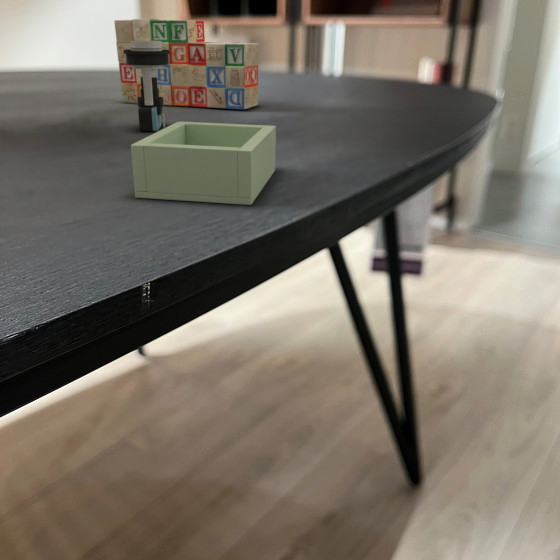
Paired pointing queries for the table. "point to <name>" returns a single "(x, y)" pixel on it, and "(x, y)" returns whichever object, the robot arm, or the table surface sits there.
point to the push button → (148, 80)
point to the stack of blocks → (191, 65)
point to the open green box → (205, 162)
